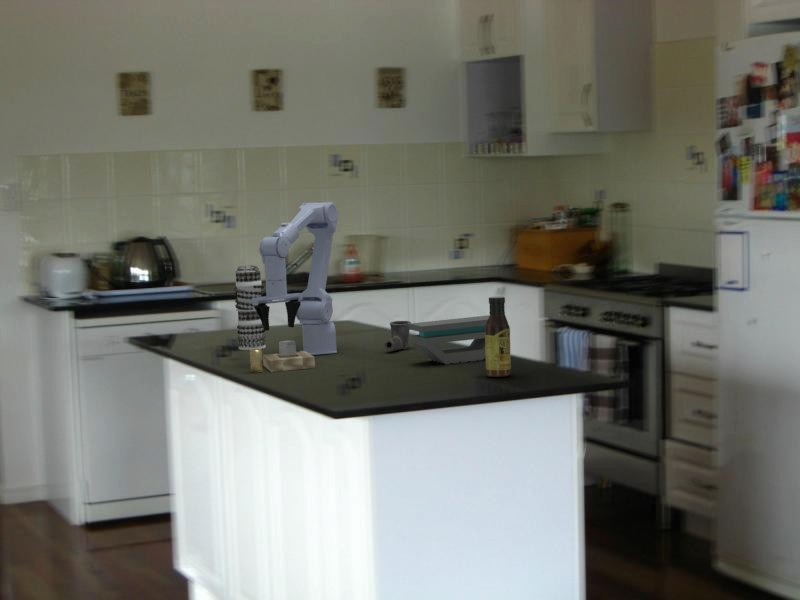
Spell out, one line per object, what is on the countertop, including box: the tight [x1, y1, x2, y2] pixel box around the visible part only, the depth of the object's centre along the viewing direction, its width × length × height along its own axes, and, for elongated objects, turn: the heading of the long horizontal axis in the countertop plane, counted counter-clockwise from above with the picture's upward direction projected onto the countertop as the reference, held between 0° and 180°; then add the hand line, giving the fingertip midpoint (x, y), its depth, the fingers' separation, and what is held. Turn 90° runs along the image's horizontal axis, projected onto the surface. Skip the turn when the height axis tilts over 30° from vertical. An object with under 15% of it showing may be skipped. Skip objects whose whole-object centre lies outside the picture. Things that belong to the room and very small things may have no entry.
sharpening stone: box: [409, 314, 490, 365], centre depth 344 cm, size 25×8×11 cm, turn 115°
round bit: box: [249, 349, 264, 374], centre depth 339 cm, size 3×3×6 cm
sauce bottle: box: [485, 296, 512, 378], centre depth 316 cm, size 6×6×20 cm
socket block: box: [262, 350, 316, 373], centre depth 345 cm, size 12×12×3 cm
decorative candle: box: [233, 265, 267, 351], centre depth 384 cm, size 9×9×25 cm
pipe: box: [384, 320, 412, 352], centre depth 367 cm, size 6×13×8 cm, turn 158°
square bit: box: [278, 339, 297, 358], centre depth 345 cm, size 3×3×7 cm
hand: (278, 328), depth 351 cm, fingers open, 7 cm apart
